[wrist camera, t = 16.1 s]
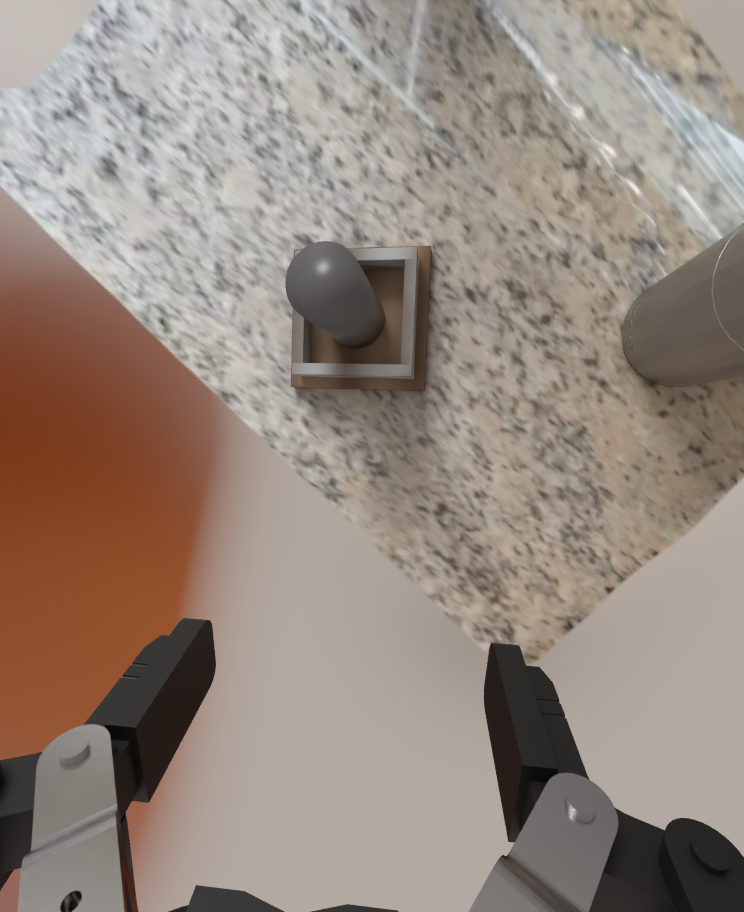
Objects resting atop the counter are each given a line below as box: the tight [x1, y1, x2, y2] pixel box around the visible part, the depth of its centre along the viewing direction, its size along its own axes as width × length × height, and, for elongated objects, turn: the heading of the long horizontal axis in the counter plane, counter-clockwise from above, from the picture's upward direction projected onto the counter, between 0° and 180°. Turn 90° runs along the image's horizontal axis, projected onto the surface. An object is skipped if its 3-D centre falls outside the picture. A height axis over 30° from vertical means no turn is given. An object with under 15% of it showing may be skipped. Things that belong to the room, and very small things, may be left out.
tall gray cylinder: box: [286, 241, 385, 349], centre depth 37 cm, size 5×5×12 cm
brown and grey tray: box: [291, 246, 431, 391], centre depth 42 cm, size 13×13×4 cm
